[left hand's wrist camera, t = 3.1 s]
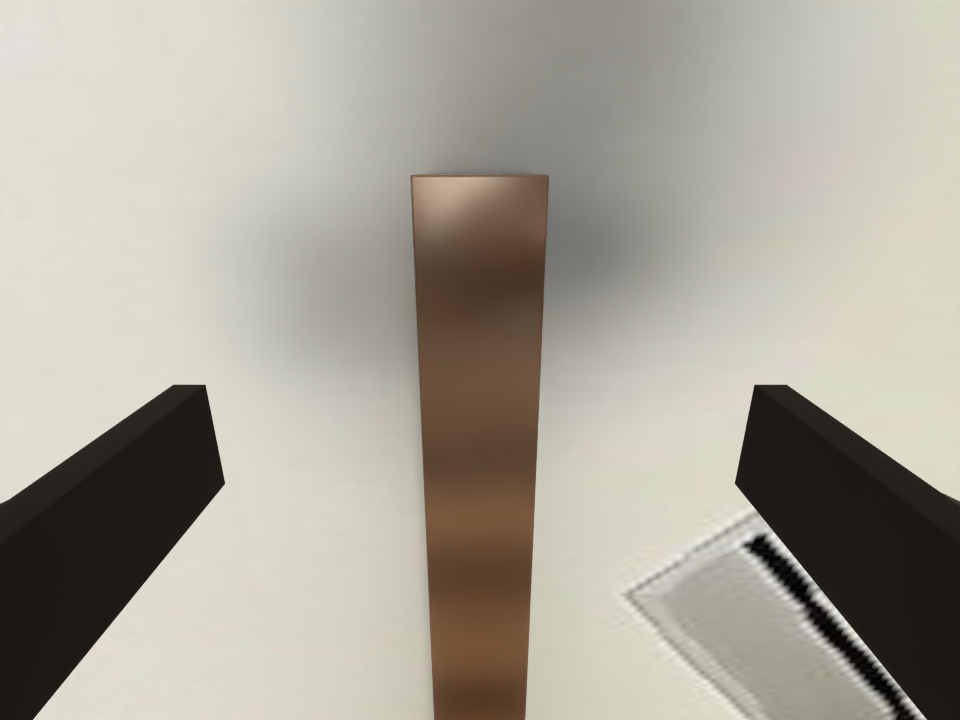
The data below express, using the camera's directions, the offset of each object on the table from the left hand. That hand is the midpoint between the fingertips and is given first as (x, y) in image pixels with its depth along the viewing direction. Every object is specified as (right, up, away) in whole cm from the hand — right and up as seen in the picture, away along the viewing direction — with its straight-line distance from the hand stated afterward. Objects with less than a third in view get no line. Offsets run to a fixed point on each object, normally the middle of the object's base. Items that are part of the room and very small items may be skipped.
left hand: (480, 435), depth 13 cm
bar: (0, -14, +22) cm, 26 cm away
